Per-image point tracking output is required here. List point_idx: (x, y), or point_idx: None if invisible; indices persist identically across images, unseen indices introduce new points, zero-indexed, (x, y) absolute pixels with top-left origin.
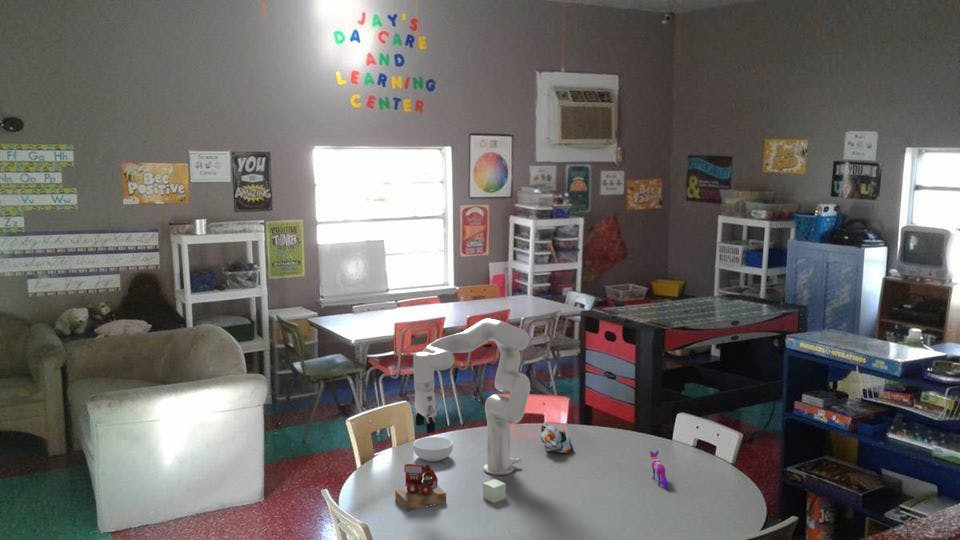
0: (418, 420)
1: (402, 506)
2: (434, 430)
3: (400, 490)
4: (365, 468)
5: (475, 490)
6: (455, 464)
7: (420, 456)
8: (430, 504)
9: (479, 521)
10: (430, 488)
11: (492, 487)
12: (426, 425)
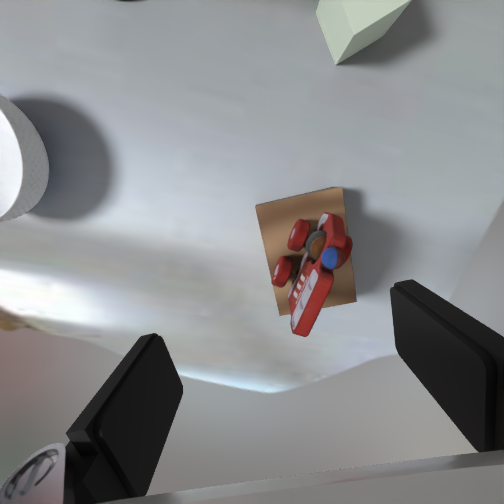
0: (159, 423)
1: None
2: (418, 288)
3: (286, 304)
4: (81, 337)
5: (274, 77)
6: (62, 96)
7: (34, 206)
8: None
9: (481, 119)
10: (351, 239)
11: (404, 3)
12: (465, 427)
